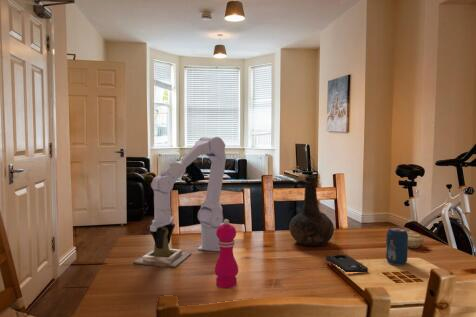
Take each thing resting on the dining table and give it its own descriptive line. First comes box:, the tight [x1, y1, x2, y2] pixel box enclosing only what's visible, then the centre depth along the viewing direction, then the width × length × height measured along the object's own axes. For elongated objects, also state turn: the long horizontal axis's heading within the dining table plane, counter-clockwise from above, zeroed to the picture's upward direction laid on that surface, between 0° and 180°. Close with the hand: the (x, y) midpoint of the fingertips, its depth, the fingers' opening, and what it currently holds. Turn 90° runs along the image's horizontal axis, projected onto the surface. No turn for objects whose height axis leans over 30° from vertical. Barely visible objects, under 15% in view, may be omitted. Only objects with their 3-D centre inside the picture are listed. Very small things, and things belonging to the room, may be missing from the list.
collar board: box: [133, 248, 192, 269], centre depth 136 cm, size 16×14×2 cm
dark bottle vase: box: [288, 175, 335, 247], centre depth 154 cm, size 18×18×28 cm
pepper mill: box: [214, 218, 239, 289], centre depth 113 cm, size 7×7×20 cm
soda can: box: [385, 226, 409, 266], centre depth 131 cm, size 7×7×12 cm
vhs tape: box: [325, 253, 369, 273], centre depth 129 cm, size 14×8×2 cm, turn 14°
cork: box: [153, 227, 170, 258], centre depth 136 cm, size 6×6×11 cm
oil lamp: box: [406, 230, 425, 249], centre depth 153 cm, size 11×14×5 cm
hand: (163, 246), depth 136 cm, fingers open, 5 cm apart
